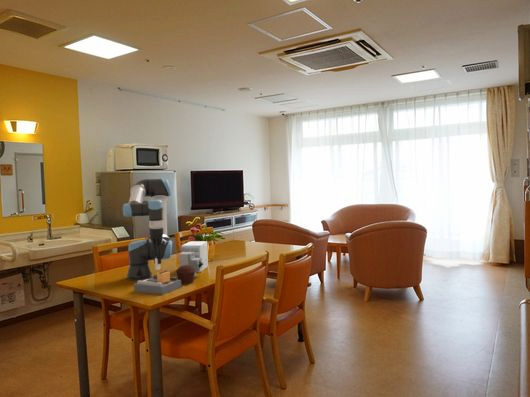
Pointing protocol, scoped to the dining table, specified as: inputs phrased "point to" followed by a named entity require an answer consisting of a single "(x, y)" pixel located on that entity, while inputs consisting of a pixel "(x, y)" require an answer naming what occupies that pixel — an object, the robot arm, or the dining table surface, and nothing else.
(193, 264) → the circuit breaker
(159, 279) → the breaker toggle
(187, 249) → the supplement box
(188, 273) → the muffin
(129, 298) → the dining table surface
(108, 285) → the dining table surface
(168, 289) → the breaker panel
